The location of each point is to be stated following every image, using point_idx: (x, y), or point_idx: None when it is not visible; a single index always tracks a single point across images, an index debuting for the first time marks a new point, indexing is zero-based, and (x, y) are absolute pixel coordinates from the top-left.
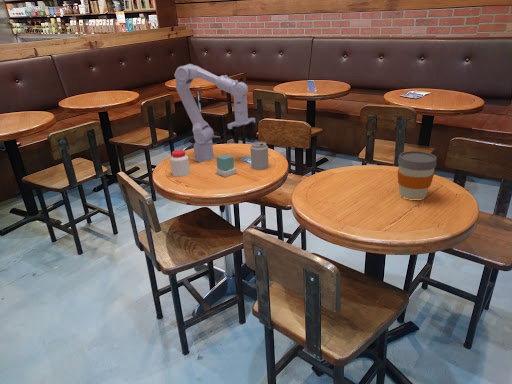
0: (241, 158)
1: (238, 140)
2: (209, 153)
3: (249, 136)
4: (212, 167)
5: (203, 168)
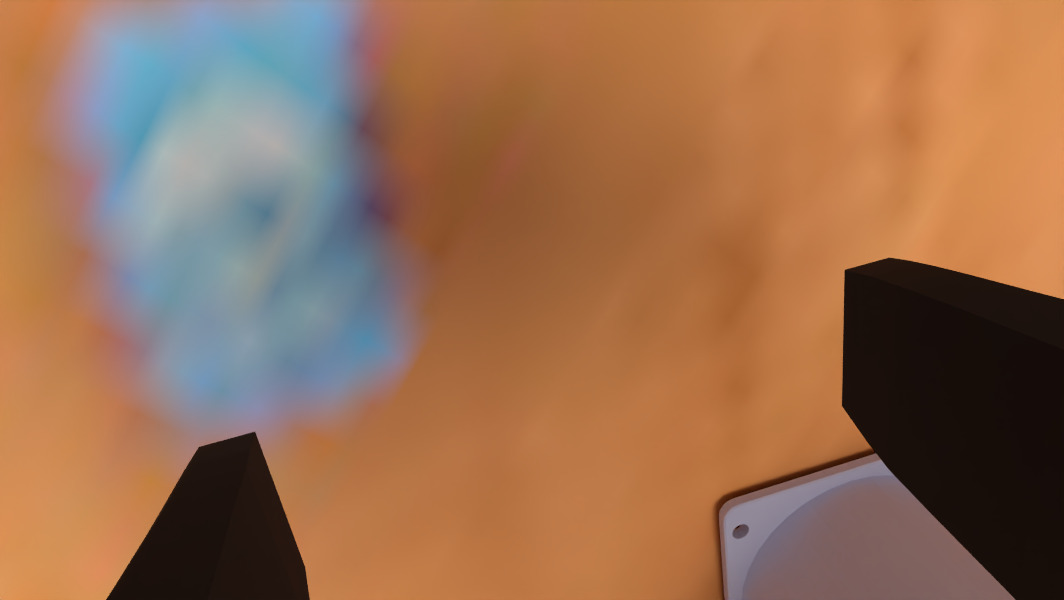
0: (353, 401)
1: (926, 293)
2: (944, 567)
3: (261, 550)
4: (958, 258)
5: (1058, 291)
